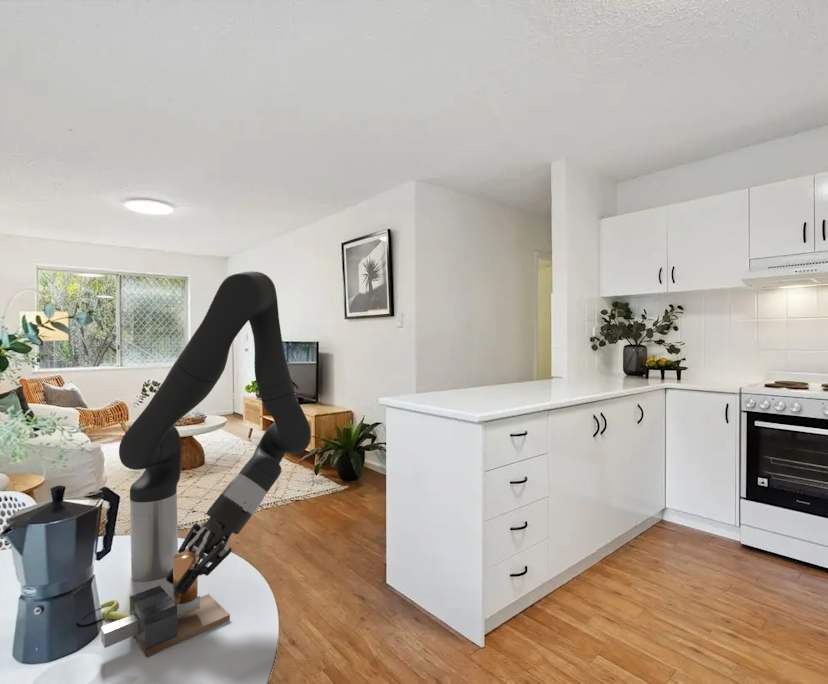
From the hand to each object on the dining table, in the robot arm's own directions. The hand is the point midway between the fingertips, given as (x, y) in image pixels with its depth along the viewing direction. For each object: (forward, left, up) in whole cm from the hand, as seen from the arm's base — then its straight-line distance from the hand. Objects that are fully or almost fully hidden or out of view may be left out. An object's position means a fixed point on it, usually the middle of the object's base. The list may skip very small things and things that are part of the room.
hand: (174, 586), depth 84 cm
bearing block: (0, -4, -8) cm, 8 cm away
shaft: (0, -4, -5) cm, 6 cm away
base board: (0, +1, -8) cm, 8 cm away
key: (-12, -7, -8) cm, 17 cm away
